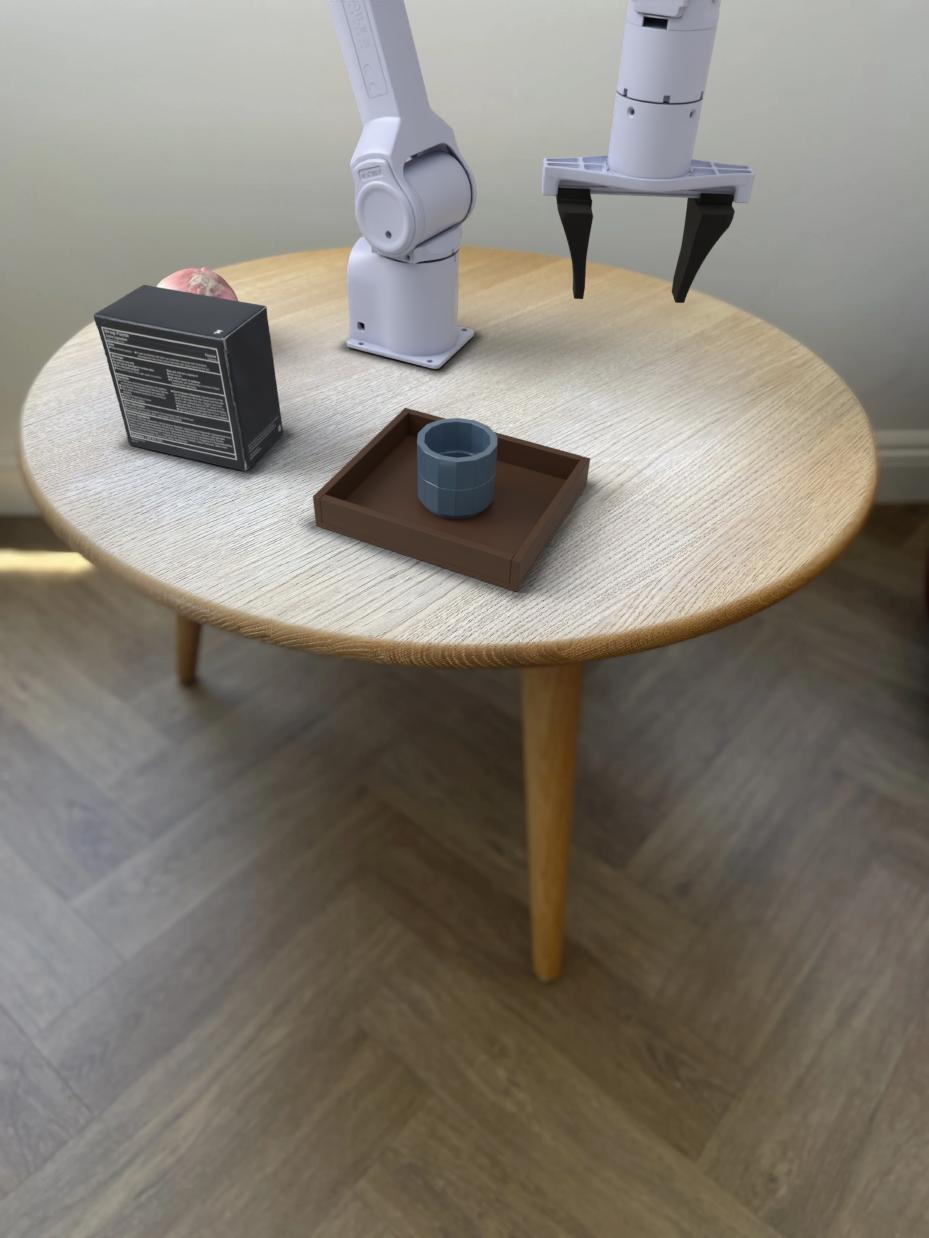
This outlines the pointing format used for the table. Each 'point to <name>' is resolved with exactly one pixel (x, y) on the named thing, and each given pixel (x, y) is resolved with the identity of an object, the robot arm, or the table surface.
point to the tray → (477, 546)
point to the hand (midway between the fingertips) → (627, 295)
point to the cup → (456, 467)
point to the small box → (193, 374)
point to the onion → (199, 283)
